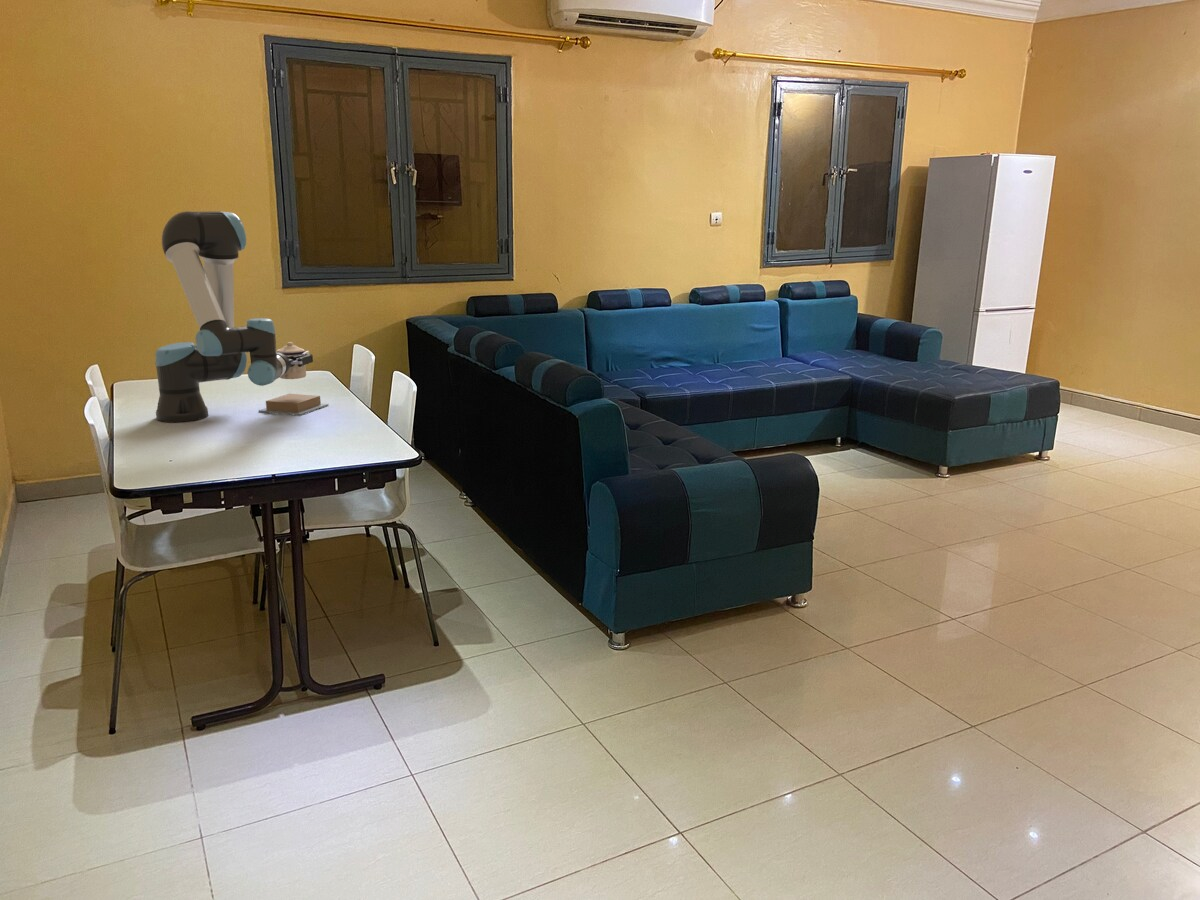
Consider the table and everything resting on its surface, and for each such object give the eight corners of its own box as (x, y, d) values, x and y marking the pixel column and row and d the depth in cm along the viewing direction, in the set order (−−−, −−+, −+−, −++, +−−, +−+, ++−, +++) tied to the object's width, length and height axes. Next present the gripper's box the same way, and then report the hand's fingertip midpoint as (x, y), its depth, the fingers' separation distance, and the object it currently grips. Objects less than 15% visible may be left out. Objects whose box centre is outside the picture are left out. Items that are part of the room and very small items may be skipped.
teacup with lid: (277, 375, 295) (274, 341, 292) (305, 374, 299) (302, 340, 296) (280, 381, 285) (277, 346, 282) (309, 379, 288) (306, 344, 285)
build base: (258, 412, 289) (257, 401, 288) (288, 402, 304) (287, 392, 303) (300, 415, 285) (299, 404, 284) (328, 405, 300) (327, 395, 299)
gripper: (239, 377, 273) (261, 366, 295) (310, 377, 274) (327, 365, 296) (237, 354, 271) (259, 343, 293) (309, 353, 273) (325, 343, 294)
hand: (293, 354), depth 294 cm, fingers closed on teacup with lid, 9 cm apart
